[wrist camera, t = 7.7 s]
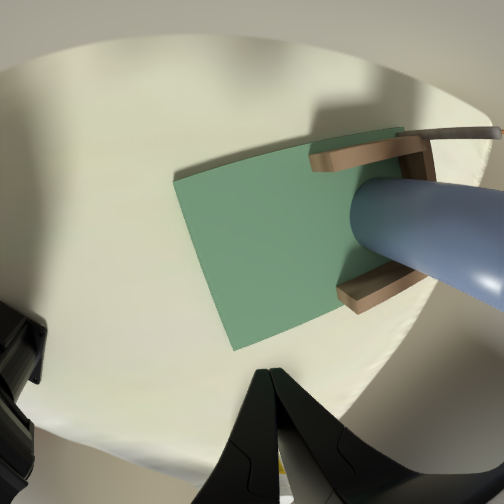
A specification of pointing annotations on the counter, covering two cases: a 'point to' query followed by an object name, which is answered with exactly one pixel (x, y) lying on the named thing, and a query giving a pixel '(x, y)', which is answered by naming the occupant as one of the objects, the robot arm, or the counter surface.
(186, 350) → the counter surface
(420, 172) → the wooden rack
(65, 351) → the counter surface
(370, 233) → the blue domed cylinder
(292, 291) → the felt mat
